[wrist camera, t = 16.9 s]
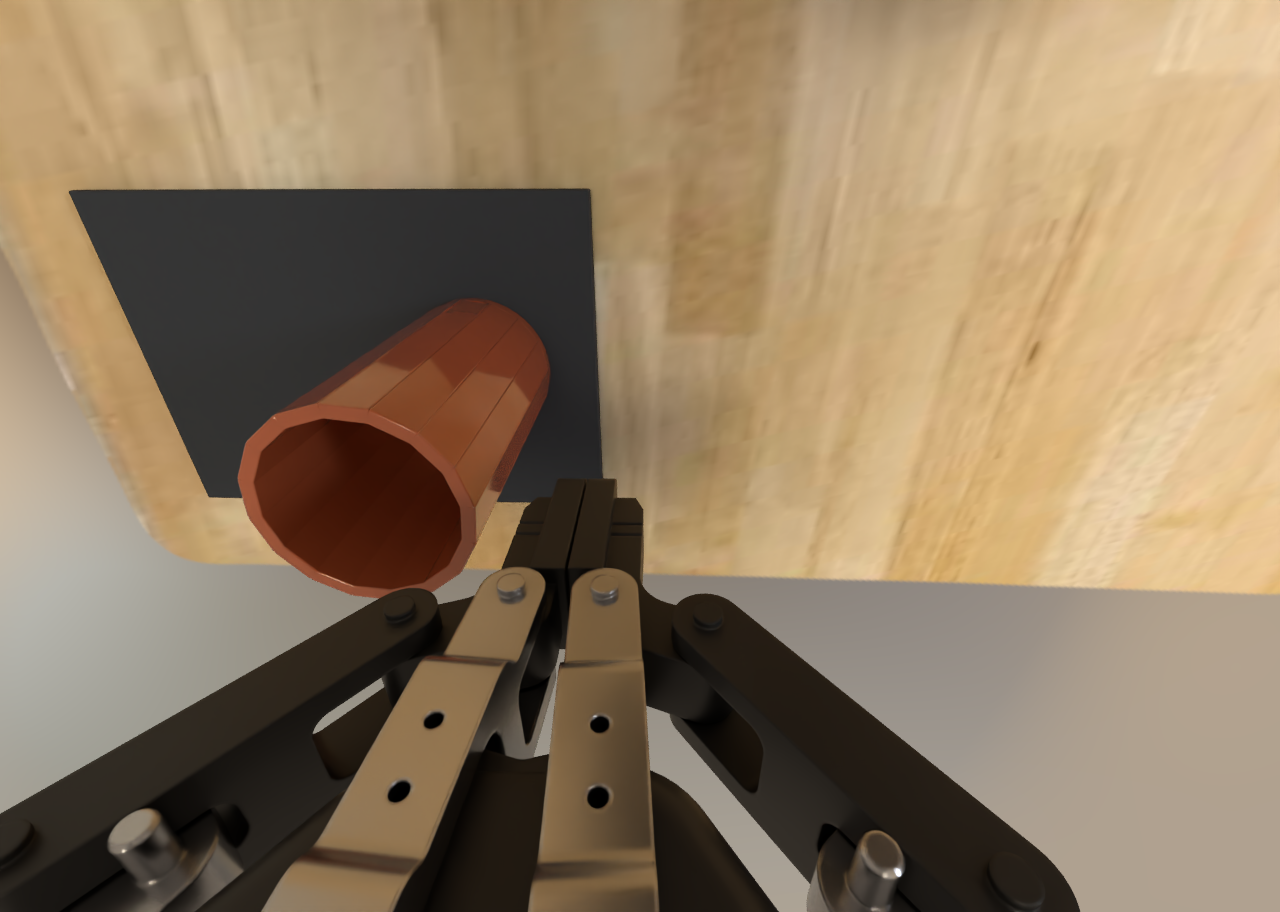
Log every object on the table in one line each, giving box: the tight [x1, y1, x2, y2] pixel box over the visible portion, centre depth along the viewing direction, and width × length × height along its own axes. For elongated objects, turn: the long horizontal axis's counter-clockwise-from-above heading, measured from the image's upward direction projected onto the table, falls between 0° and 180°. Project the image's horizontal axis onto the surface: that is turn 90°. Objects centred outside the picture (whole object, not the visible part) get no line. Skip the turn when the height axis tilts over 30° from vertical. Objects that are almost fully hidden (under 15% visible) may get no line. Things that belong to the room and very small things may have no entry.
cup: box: [238, 298, 550, 598], centre depth 19 cm, size 6×6×11 cm
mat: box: [69, 189, 603, 502], centre depth 24 cm, size 20×14×1 cm
